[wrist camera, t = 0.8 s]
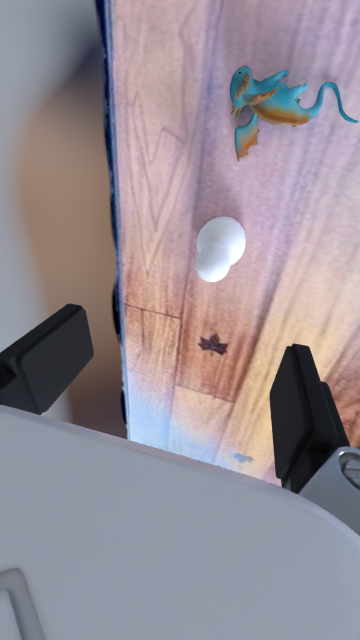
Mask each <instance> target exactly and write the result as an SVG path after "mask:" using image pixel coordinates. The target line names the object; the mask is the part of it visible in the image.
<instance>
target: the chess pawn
mask: <svg viewBox="0 0 360 640" xmlns="http://www.w3.org/2000/svg"><path fill="white" fill-rule="evenodd" d="M245 240H246V238H245V232H244V230H243V228H242V226H241V225H240V224H239V223H238V222H237V221H236V220H234V219H232V218H229V217H217V218H213V219H212V220H210V221H208V222H207V223H206V224H205V225H204V226H203V228H202V229H201V230H200V232H199V234H198V237H197V250H198V256H197V258H196V261H195V268H196V272H197V273H198V275H199V276H200V277H201V278H202V279H203V280H205V281H208V282H215V281H218V280H221V279H222V278H223V277H224V276H225V275H226V274H227V272H228V270H229V266H230V265H232V264H234V263H235V262H237V261H238V260H239V259H240V257H241V256H242V254H243V252H244V249H245Z"/></svg>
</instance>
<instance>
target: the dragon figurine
mask: <svg viewBox="0 0 360 640" xmlns="http://www.w3.org/2000/svg"><path fill="white" fill-rule="evenodd" d="M288 73H290V71H288V70H285V71H282V72H279V73H277V74H275V75H273V76H271V77H269V78H266V79H264V80H263V81H261V82H259V81H256V80H254V79H253V77H252V73H251V70H250V68H249V67H248V66H246V65H244V66H242V67H240V68H239V69H238V70H237V71H236V72H235V74H234V75H233V77H232V80H231V84H230V96H231V101H232V103H233V107H232V109H231V110H233V111H232V112H231V114H233V116H234V115H235V114H236V116H235V118H236V121H237V120H238V119H239V115H240V113H241V112H242V109H243V107H244V106H245V105H248V106H249V107H250V108H251V109H252V110H253V112H254V113H253V115H252V118H251V120H250V121H249V123H248V124H246V125H245V126H240V127H237V128H236V130H235V144H236V153H237V158H238V161H239V160H240V159H241V158H242V157H244V156H246V155H248V148H249V147H250V146H252V145H256V144H258V143H257V141H256V137H257V133H258V132H259V130H258V128H257V117H259V118H261V119H262V120H264V121H265V122H269V123H271V124H278V125H283V126H292V127H296V126H298V125H301V124H304V123H306V122H308V121H309V120H310V119H312V118H313V117H314V116H315V115H316V114H317V113H318V111H319V109H320V107H321V105H322V101H323V90H324V88H325V87H331V88H333V90H334V91H335V94H336V96H337V100H338V107H339V111H340V114H341V115H342V117H343V118H344V119H345V120H347V121H349V122H354V123H358V121H357V120H354V119H352V118H350V117H348V116H347V115H346V114H345V112H344V111H343V109H342V104H341V98H340V93H339V90H338V88H337V86H336V85H335V84H334V83H332V82H326V83H325V84H323V85H322V86H321V88H320V90H319V93H318V97H317V100H316V103H315V105H314V106H313V107H311V108H309V109H305V108H303V107H301V106H299V101H300V100H301V99H296V100H294V99H295V98H296V97H297V96H298V94H299V93H301V92H304V91H305V90H306V88H307V87H308V85H307V84H308V83H305V84H303V85H298V86H296V87H293V88H290V89H288V87H287V86H286V84H284V83H283V82H281V81H279V80H280V79H281V78H282V77H285V76H287V74H288ZM236 121H235V122H236Z"/></svg>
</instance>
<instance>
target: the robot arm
mask: <svg viewBox="0 0 360 640" xmlns="http://www.w3.org/2000/svg"><path fill="white" fill-rule="evenodd" d="M93 354H94V351H93V346H92V341H91V336H90V331H89V326H88V321H87V316H86V311H85V310H84V309H83V307H82V306H80V305H75V304H67V305H66V306H64V307H63V308H62V309H60V310H59V311H57V312H56V313H55V314H53V315H52V316H51V317H49V318H48V319H46V320H45V321H44V322H42V323H41V324H39V325H38V326H37V327H35V328H34V329H33V330H31V331H30V332H28V333H27V334H26V335H25V336H23V337H21V338H20V339H19V340H17V341H16V342H14V343H13V344H12V345H10V346H9V347H8V348H6V349H5V350H3V351H2V352H1V353H0V640H360V450H359V449H356V448H353V447H350V444H349V441H348V438H347V436H346V433H345V430H344V427H343V425H342V422H341V419H340V416H339V413H338V411H337V408H336V405H335V402H334V400H333V397H332V394H331V391H330V388H329V386H328V384H327V383H326V382H322V381H320V378H319V375H318V372H317V369H316V366H315V363H314V360H313V357H312V354H311V351H310V348H309V346H305V345H299V344H293V345H292V346H287V347H286V350H285V353H284V355H283V358H282V361H281V363H280V366H279V369H278V371H277V374H276V377H275V380H274V382H273V385H272V388H271V391H270V409H271V421H272V433H273V446H274V458H275V471H276V477H277V478H279V479H281V483H282V487H280V486H277V485H274V484H271V483H268V482H266V481H263V480H260V479H257V478H254V477H251V476H248V475H245V474H241V473H238V472H235V471H232V470H228V469H225V468H222V467H219V466H215V465H212V464H209V463H205V462H202V461H199V460H195V459H192V458H188V457H185V456H181V455H178V454H174V453H171V452H168V451H164V450H161V449H157V448H154V447H150V446H147V445H143V444H140V443H136V442H133V441H129V440H126V439H122V438H119V437H115V436H112V435H108V434H105V433H101V432H98V431H94V430H91V429H87V428H83V427H80V426H77V425H73V424H70V423H66V422H63V421H59V420H55V419H52V418H48V417H45V416H41V414H42V413H43V412H46V411H47V410H48V409H49V408H50V407H51V405H52V404H53V403H54V402H55V401H56V400H57V399H58V397H59V396H60V395H61V394H62V393H63V392H64V390H65V389H66V388H67V387H68V386H69V384H70V383H71V382H72V381H73V380H74V379H75V377H76V376H77V375H78V374H79V373H80V372H81V370H82V369H83V368H84V367H85V366H86V365H87V363H88V362H89V361H90V360H91V359H92V357H93Z"/></svg>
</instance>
